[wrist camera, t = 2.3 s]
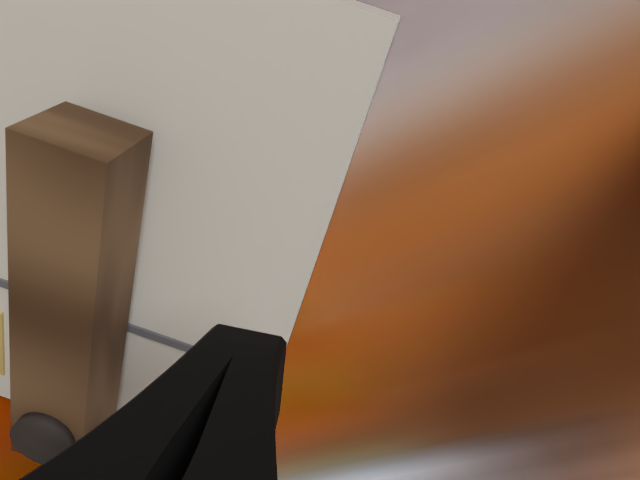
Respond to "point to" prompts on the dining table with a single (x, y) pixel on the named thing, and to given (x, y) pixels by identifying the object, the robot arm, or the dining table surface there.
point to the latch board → (205, 146)
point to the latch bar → (70, 269)
